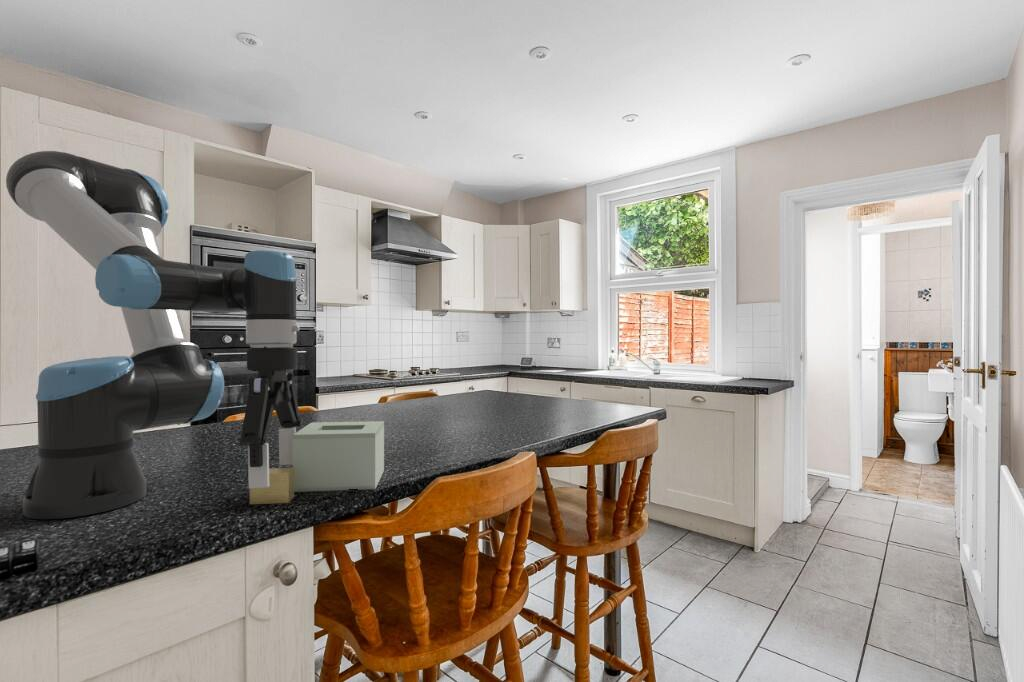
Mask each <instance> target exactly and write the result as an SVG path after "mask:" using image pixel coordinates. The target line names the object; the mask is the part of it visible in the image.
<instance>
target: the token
mask: <svg viewBox="0 0 1024 682" xmlns="http://www.w3.org/2000/svg"><path fill="white" fill-rule="evenodd" d="M294 498H295V492H294V468H293V467H283V468H282V467H281V468H280V467H279V468H278V467H277V468H275V467H273V468H270V467H269V487H264V488H249V505H264V504H265V505H267V504H268V505H269V504H289V503H290V502H291V501H292V500H293V499H294Z"/></svg>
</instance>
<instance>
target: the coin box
mask: <svg viewBox="0 0 1024 682" xmlns="http://www.w3.org/2000/svg"><path fill="white" fill-rule="evenodd" d="M384 443H385V421H384V420H383V421H382V420H381V421H380V420H377V421H375V420H371V421H326V422H325V421H322V422H318V421H315V422H313V421H312V422H310V423H309V424H307V425H306V426H304V427H302V428H301V429H299V430H298V431H296V433H295V434H293V465H292V468H294V493H303V492H333V491H334V492H335V491H350V490H349V489H358V490H357V491H362V490H363V491H364V490H376V488H377V486H378V484H379V481H380V480H381V478H382V476H383V474H384V471H385V450H384Z"/></svg>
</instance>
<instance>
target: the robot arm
mask: <svg viewBox="0 0 1024 682" xmlns="http://www.w3.org/2000/svg"><path fill="white" fill-rule="evenodd" d="M5 184H6V188H7V192H8V195H9V197H10V198H11V199H12V201H13V202H14V203H15V205H16V206H18V208H19V209H20V210H22V211H23V212H24V213H25V214H26V215H28V216H29V217H31V218H33V219H35V220H37V221H39V222H44V223H46V224H47V225H48V226H49V227H50V228H51V229H52V230H53V231H54V232H55V233H56V234H57V235H58V236H60V238H62V239H63V241H64V242H66V243H67V244H68V245H69V246H70V247H71V248H72V249H73V250H74V251H75V252H76V253H78V254H79V255H80V256H81V258H83V259H84V260H85V261H86V262H87V263H89V265H90V266H91V267H92V268H93V269H94V270H95V277H94V278H95V279H94V282H95V288H96V290H98V296H99V297H100V299H101V300H102V301H103V302H104V303H106V304H107V305H109V306H112V307H119V308H121V312H122V315H123V318H124V323H125V325H126V328H127V333H128V336H129V339H130V342H131V343H130V344H131V346H132V350H133V352H132V354H131V355H130V356H126V355H122V356H121V355H118V356H116V355H115V356H105V357H93V358H85V359H84V358H83V359H76V360H70V361H65V362H60V363H55V364H52V365H50V366H47V367H45V368H44V369H43V370H41V371H40V373H39V375H38V384H37V393H36V394H35V399H36V401H37V404H36V405H37V442H38V443H37V445H38V447H37V448H38V449H37V451H38V454H37V455H38V460H37V465H36V467H35V469H34V472H33V474H32V476H31V479H30V481H29V483H28V486H27V489H26V492H25V494H24V497H23V498H22V515H23V516H24V517H25V518H28V519H34V520H60V519H69V518H71V519H72V518H77V517H85V516H89V515H90V516H91V515H95V514H99V513H104V512H105V513H106V512H110V511H112V510H116V509H119V508H123V507H126V506H128V505H130V504H133V503H135V502H138V501H140V500H141V499H143V498H144V497H145V496H146V495H147V479H146V477H145V475H144V473H143V470H142V468H141V465H140V463H139V460H138V459H137V456H136V454H135V452H134V432H136V431H141V430H149V429H154V428H160V427H168V426H174V425H181V424H183V425H184V424H190V423H192V422H195V421H196V422H197V421H201V420H205V419H206V418H208V417H210V416H211V415H213V414H214V413H215V412H216V410H217V409H218V408H219V405H220V404H221V401H222V398H223V396H224V391H225V379H224V378H225V377H224V374H223V371H222V369H221V367H220V365H219V364H217V363H216V362H215V361H213V360H210V359H204V358H203V356H202V355H203V354H202V352H201V350H200V347H199V345H197V344H195V343H193V342H191V341H189V340H188V338H187V334H186V331H185V328H184V324H183V321H182V319H181V318H182V317H181V316H180V312H179V311H185V312H186V311H188V312H191V311H192V312H196V311H197V312H206V313H209V314H222V315H226V314H230V313H239V312H240V313H242V312H245V314H246V315H245V344H247V345H249V347H250V348H247V350H246V368H247V370H248V371H250V372H257V373H258V375H257V378H254V377H253V378H249V380H248V393H247V394H248V395H247V401H246V405H245V411H244V419H243V424H242V429H241V434H240V441H239V443H240V446H241V447H243V446H247V467H248V468H247V469H248V470H247V471H248V473H247V474H248V477H247V479H248V489H250V488H264V487H269V469H270V454H269V453H270V450H269V449H270V448H269V444H270V443H267V438H268V435H269V431H270V426H271V422H272V418H273V413H274V411H275V413H276V416H277V419H278V422H279V424H280V427H279V428H278V456H279V457H278V459H279V460H278V461H279V462H278V463H279V464H278V465H279V466H293V434H295V433H296V432H297V427H301V426H302V420H301V417H300V416H301V415H300V412H299V406H298V400H297V399H298V398H297V395H296V389H295V385H294V383H295V381H294V379H295V378H294V373H293V372H287V371H291V370H296V369H297V368H298V348H296V347H294V345H295V344H296V343H297V342H298V341H297V340H298V339H297V338H298V337H297V336H298V335H297V332H299V331H300V330H301V328H300V326H299V325H297V281H298V278H297V274H296V273H297V271H296V262H295V258H294V257H293V256H292V255H291V254H290V253H287V252H283V251H277V250H265V249H263V250H262V249H261V250H259V249H258V250H252V251H249V252H247V253H246V254H245V256H244V263H243V266H241V267H234V268H233V267H231V268H229V267H228V268H227V267H226V268H225V267H217V266H210V265H209V266H208V265H203V264H202V265H201V264H195V263H187V262H181V261H174V260H166V259H163V257H162V253H161V250H160V247H159V244H158V240H157V237H158V236H159V235H160V234H161V232H162V229H163V227H164V226H165V225H166V223H167V221H168V219H169V218H168V217H169V213H168V210H169V209H170V208H169V200H168V197H167V195H166V192H165V190H164V189H163V186H162V185H161V184H160V183H159V182H158V181H157V180H156V179H154V178H152V177H151V176H149V175H146V174H143V173H140V172H138V171H136V170H133V169H129V168H121V167H117V166H113V165H110V164H108V163H107V164H106V163H103V162H100V161H97V160H93V159H90V158H86V157H82V156H78V155H75V154H71V153H69V152H65V151H64V152H63V151H55V150H43V151H42V150H41V151H36V152H31V153H28V154H25V155H24V156H22V157H19V158H18V159H17V160H15V161H14V163H12V164H11V165H10V167H9V169H8V171H7V174H6V178H5Z"/></svg>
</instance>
